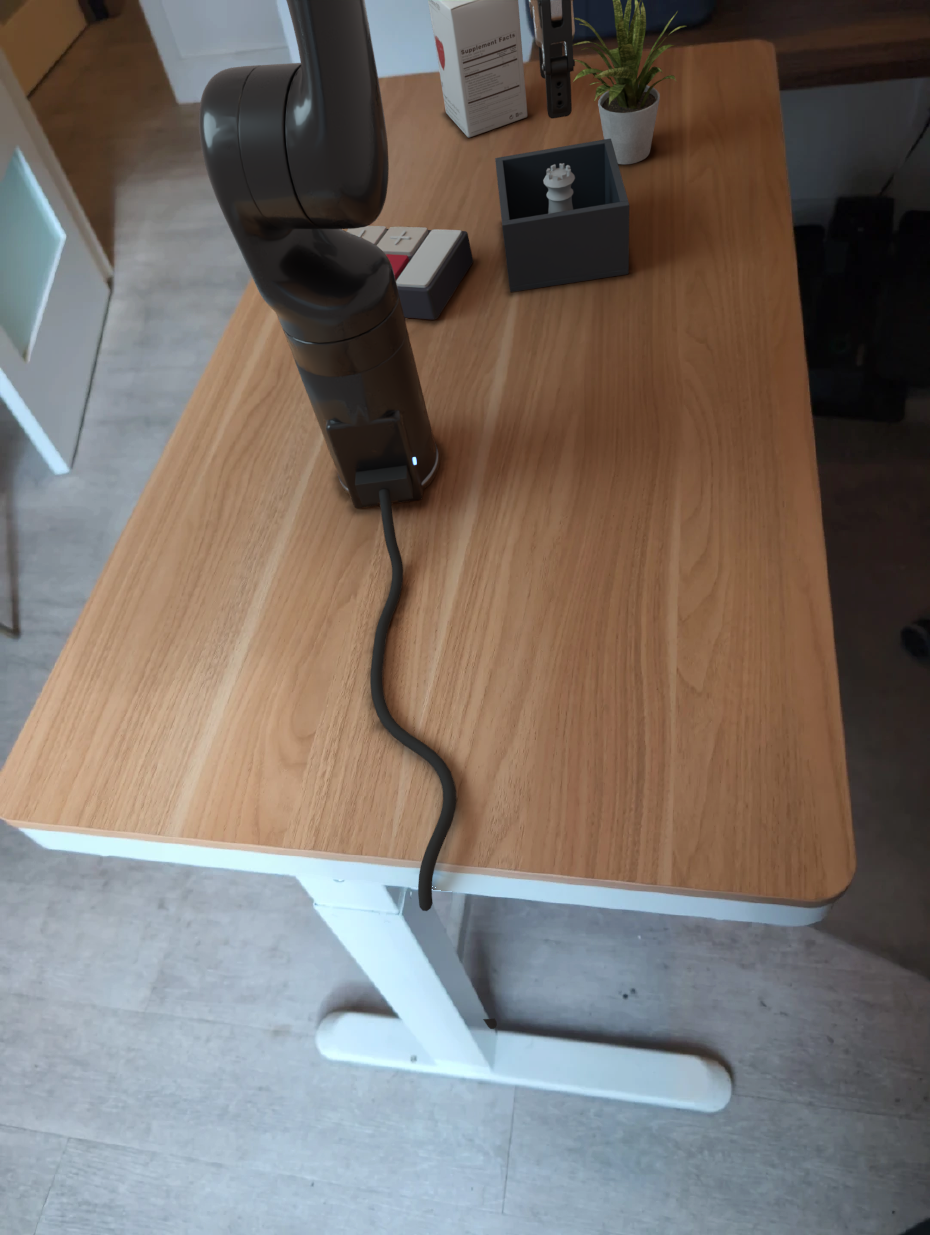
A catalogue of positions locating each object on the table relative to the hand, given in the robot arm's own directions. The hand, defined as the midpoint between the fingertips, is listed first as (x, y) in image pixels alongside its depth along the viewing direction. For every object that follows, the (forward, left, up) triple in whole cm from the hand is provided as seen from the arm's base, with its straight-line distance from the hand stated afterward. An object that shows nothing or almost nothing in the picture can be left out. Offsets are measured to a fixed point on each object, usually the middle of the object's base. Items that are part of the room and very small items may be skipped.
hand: (555, 95), depth 80 cm
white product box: (+34, +7, -16) cm, 38 cm away
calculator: (-2, +19, -16) cm, 25 cm away
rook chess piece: (0, 0, -15) cm, 15 cm away
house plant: (+19, -9, -16) cm, 27 cm away
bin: (0, 0, -16) cm, 16 cm away
